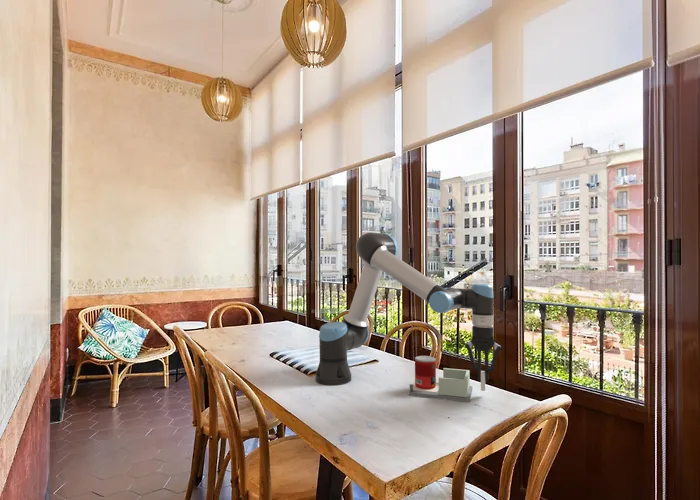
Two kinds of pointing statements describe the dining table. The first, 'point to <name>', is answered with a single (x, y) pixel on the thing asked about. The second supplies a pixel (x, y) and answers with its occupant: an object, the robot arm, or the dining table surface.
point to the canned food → (425, 372)
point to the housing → (454, 382)
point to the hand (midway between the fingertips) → (483, 389)
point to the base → (437, 393)
